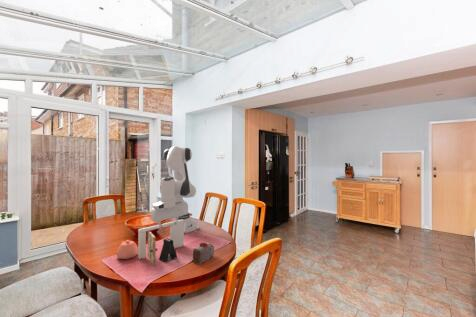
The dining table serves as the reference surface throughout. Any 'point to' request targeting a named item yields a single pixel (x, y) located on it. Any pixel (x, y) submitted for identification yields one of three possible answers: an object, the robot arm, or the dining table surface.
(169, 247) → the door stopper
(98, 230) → the dining table surface
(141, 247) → the wall frame
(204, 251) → the dark grey block
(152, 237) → the door
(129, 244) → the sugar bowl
